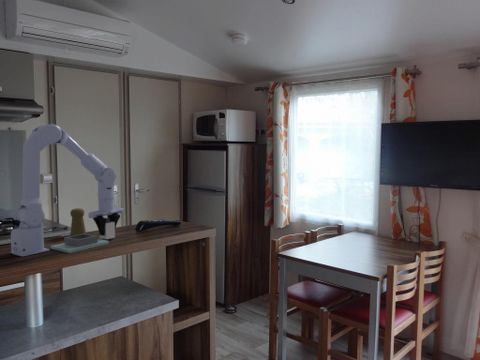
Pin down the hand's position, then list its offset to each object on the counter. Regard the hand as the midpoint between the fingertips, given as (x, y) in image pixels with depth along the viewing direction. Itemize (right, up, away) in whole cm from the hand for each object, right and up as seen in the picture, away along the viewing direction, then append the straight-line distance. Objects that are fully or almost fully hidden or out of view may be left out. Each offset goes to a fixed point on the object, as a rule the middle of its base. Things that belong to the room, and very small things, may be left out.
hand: (107, 234), depth 155 cm
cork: (-14, -2, +8) cm, 16 cm away
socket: (-6, -3, -10) cm, 12 cm away
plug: (0, -1, 0) cm, 1 cm away
